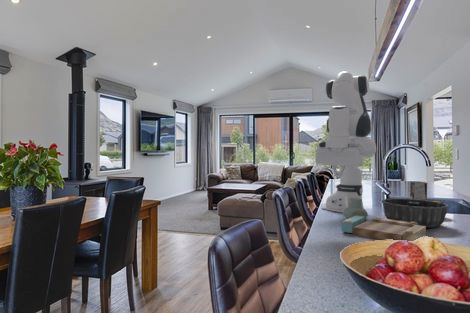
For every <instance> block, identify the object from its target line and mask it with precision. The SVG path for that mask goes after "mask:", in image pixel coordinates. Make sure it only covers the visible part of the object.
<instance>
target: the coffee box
mask: <svg viewBox="0 0 470 313" xmlns="http://www.w3.org/2000/svg"><path fill="white" fill-rule="evenodd" d="M408 186H409V187H408V199H417V200H427V199H428V183H427V182H425V181H408Z"/></svg>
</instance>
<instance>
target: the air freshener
mask: <svg viewBox="0 0 470 313" xmlns="http://www.w3.org/2000/svg"><path fill="white" fill-rule="evenodd" d="M362 202H363V198H362V199H359V198H349V207H347V208H346V209H344V211H343V213H342V215H343V217H344V218H345V219H346V220H347V219H349V218H351V217H353V216H355V215H356V216H359V215H362V216H364V217H365V218H366V219H367V217H368V211H367V210H366V209H365V208H364V209H363V208H362Z"/></svg>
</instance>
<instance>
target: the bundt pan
mask: <svg viewBox="0 0 470 313" xmlns="http://www.w3.org/2000/svg"><path fill="white" fill-rule="evenodd" d="M435 201H436V200H428V201H427V200H417V199H409V198H384V199H382V200H381V203H382V205H383V212H384V213H383V214H384V216H385V219H391V220H399V221H406V222H417V223H418V225H420V226H426V229H427V228H428V229H432V228H439V227H440V226H442V225H443V223H444V222H445V220H446V215H447V214H446V211H447V212H448V208H449V204H446V203H445V202H443V203H440V202H435Z"/></svg>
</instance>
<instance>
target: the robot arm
mask: <svg viewBox="0 0 470 313" xmlns="http://www.w3.org/2000/svg"><path fill="white" fill-rule="evenodd" d="M369 89H370V82H369V80H368V78H367V76H365V75H360V74H359V75H354V76H353V75H352V73H350V72H349V71H341V72H339V73H337V74H336V76H335V77H334V78H333V79H330V80H328V81H327V82H326V85H325V89H324V90H325V94H326V97H327V98H328V99H330V100H333V102H334V103H335V104H337V105H334V106H331V107H330V109H329V114H328V119H326V132H327V133H328V136H327V139H325V140H324V141H320V142H318V143H317V144H316V145H317V149H316V152H315V164H316V165H320V166H331V170H332V172H334V173H333V174H334V177H338V178H339V180H340V181H339V184H337V185H336V186H335V189H336V191H334V192H333V193H331V194H330V195H329V196H328V197H327V198H326V201H325V204H324V205H322V206H321V210H326V211H333V212H338V213H341V214H343V211H344V209H346V208H347V207H349V198H359V199H362V200H363V191H364V190H363V188H364V187H363V184H362V182H363V180H362V179H363V177H362V174H363V172H362V169H361V168H360V167H362V166H363V165H364V159H365V160H366V159H369V158H373V157H374V156H375V154H376V152H377V144H376V143H375V141H374V140H372V138H370V137H369V136H368V135H369V134H371V131H372V128H373V127H372V126H373V125H372V124H373V123H372V120H371V117H370V115H369V111H368V109H367V105H366V102H365V98H364V96H366V95H367V93H368V92H369ZM337 168H338V169H337ZM338 170H339V171H338ZM362 208H363V209H365V207H364V203H363V201H362Z"/></svg>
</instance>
